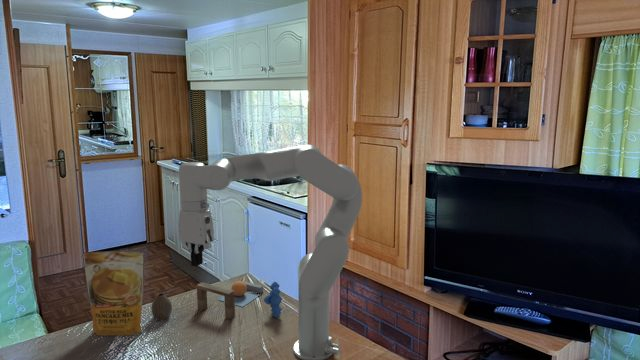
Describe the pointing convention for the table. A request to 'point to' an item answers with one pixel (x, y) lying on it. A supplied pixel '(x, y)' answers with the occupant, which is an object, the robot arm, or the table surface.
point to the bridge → (227, 293)
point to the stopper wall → (254, 287)
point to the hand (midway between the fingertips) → (197, 264)
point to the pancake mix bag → (115, 291)
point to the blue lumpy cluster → (274, 299)
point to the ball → (239, 288)
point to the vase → (161, 307)
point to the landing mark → (242, 299)
